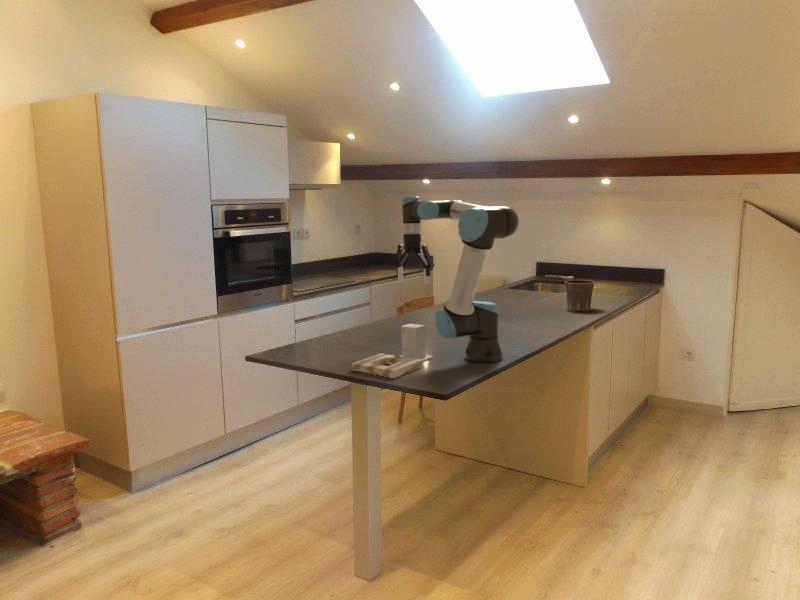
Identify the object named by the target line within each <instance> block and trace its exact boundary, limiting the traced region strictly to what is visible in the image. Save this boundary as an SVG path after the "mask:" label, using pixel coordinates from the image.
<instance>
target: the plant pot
mask: <svg viewBox="0 0 800 600" xmlns="http://www.w3.org/2000/svg"><path fill="white" fill-rule="evenodd" d="M595 283H596V282H595V281H594V280H589V279H588V280H587V279H586V280H585V279H573V280H572V279H569V280H565V281H564V284H565V285H564V287H565V291H566V305H567V310H568V312H569V311H570V312H577V313H578V312H581V313H584V312H589V311H591V307H592V306H591V305H592V298H593V290H594V285H595Z"/></svg>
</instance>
